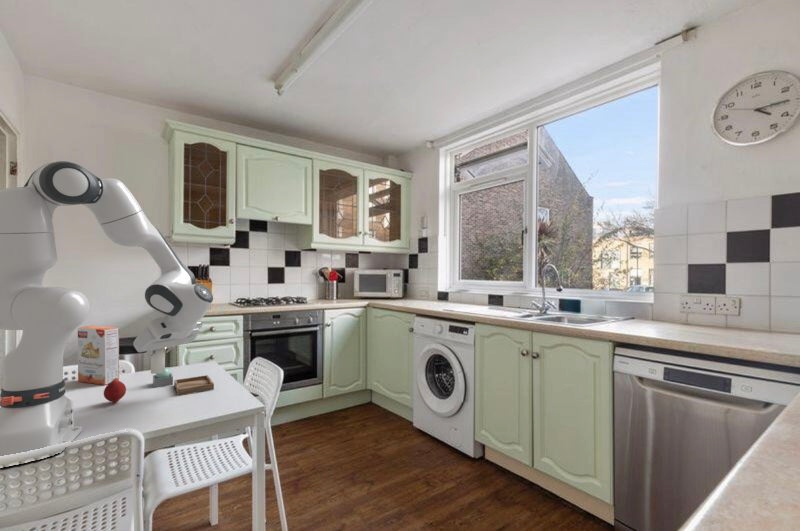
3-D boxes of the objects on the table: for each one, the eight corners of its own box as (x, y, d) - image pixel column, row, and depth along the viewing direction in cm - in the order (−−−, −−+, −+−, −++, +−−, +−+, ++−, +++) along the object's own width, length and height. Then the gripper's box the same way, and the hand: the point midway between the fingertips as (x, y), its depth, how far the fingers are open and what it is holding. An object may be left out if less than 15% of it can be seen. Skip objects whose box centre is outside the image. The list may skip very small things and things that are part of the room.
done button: (170, 380, 144) (170, 369, 144) (156, 382, 141) (156, 371, 141) (169, 377, 147) (169, 366, 147) (155, 379, 145) (155, 368, 145)
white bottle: (165, 372, 129) (166, 336, 129) (150, 374, 126) (151, 337, 127) (164, 370, 132) (165, 335, 133) (150, 371, 130) (150, 336, 130)
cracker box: (76, 382, 146) (76, 327, 146) (93, 378, 152) (93, 324, 151) (103, 386, 142) (103, 329, 142) (119, 381, 147) (119, 326, 147)
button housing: (172, 384, 143) (172, 376, 143) (153, 387, 140) (153, 379, 140) (171, 380, 148) (171, 372, 148) (152, 383, 145) (152, 375, 145)
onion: (114, 406, 121) (114, 381, 121) (99, 405, 122) (98, 380, 122) (130, 400, 127) (130, 376, 127) (115, 399, 128) (115, 375, 128)
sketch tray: (213, 389, 138) (213, 383, 138) (177, 395, 132) (177, 389, 132) (207, 380, 149) (207, 375, 149) (174, 385, 142) (174, 380, 142)
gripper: (200, 315, 137) (179, 340, 140) (143, 321, 118) (121, 351, 121) (209, 328, 135) (188, 354, 139) (153, 337, 116) (130, 366, 119)
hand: (156, 352), depth 130 cm, fingers closed on white bottle, 4 cm apart
